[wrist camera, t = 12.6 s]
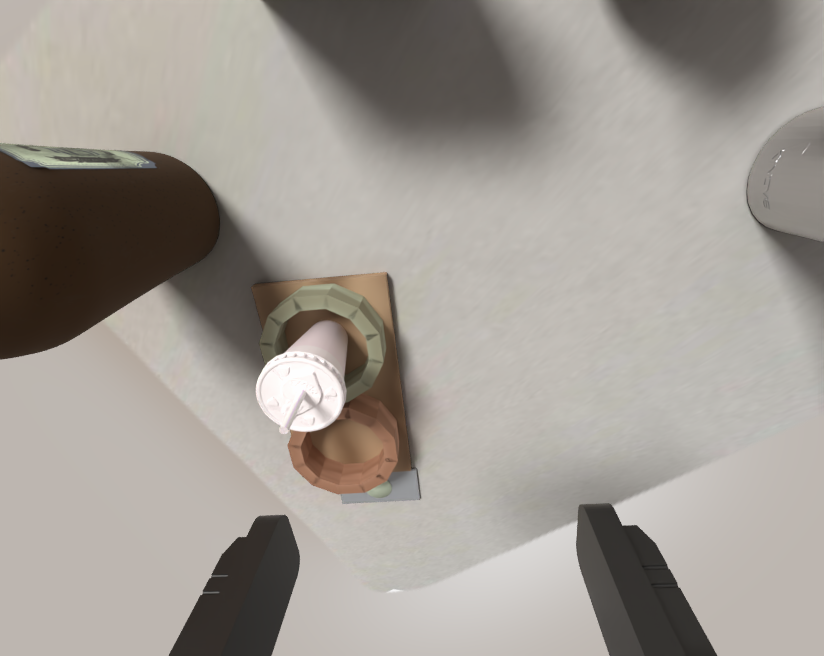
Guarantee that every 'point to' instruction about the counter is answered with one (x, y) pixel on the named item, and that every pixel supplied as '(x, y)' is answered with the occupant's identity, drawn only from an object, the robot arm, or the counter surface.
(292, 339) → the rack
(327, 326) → the smoothie
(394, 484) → the card
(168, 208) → the olive oil
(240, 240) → the counter surface
